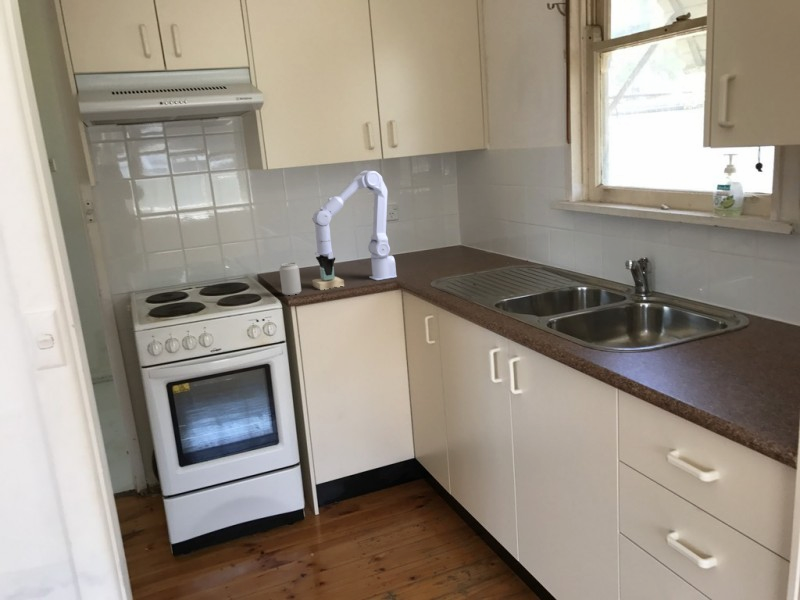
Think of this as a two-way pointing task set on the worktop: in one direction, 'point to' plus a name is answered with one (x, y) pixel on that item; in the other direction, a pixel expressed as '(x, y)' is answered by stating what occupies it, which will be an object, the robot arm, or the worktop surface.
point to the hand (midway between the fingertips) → (327, 274)
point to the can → (290, 279)
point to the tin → (323, 274)
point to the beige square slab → (327, 283)
